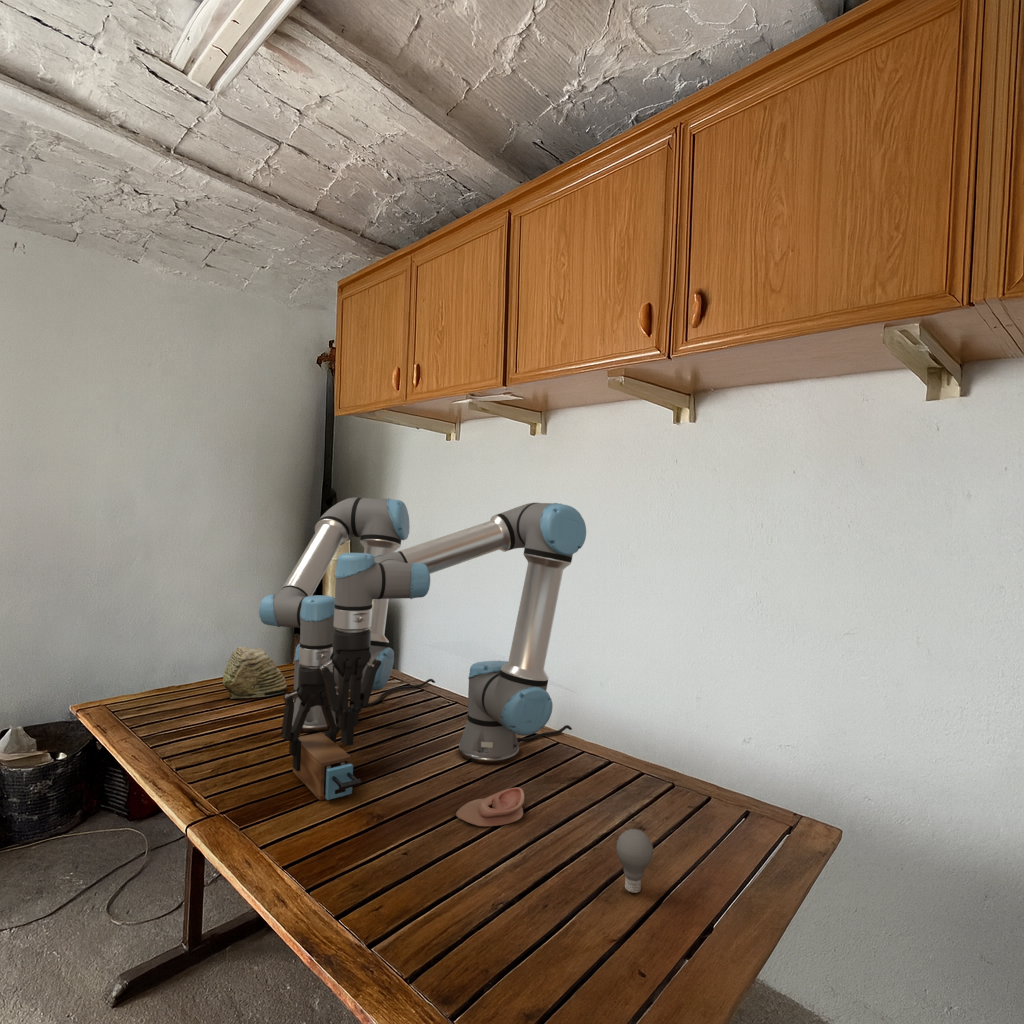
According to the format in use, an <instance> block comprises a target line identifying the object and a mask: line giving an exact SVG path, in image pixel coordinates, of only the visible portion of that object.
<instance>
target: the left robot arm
mask: <svg viewBox="0 0 1024 1024" xmlns="http://www.w3.org/2000/svg"><path fill="white" fill-rule="evenodd" d="M409 534H410V515H409V511H408V507H407V505H406V504H405V502H404V501H402V500H401V499H392V498H372V497H356V496H355V497H348V498H346V499H342V500H341V501H339V502H337V503H335V504H333V505H332V506H331V507H330V508H328V509H327V510H326V511H325V512H324V513H323V514H322V515H321V516H320V518H319V519H318V521H317V522H316V524H315V526H314V534H313V535H312V537H311V539H310V541H309V542H308V544H307V545H306V548H304V551H303V552H302V554H301V556H300V558H299V559H298V561H297V563H296V564H295V565H294V567H293V569H292V571H291V572H290V574H289V576H288V577H287V579H286V580H285V582H284V584H283V585H282V587H281V589H280V590H279V592H278V593H277V594H276V593H273V594H267V595H265V596H263V598H262V599H261V601H260V603H259V608H258V615H259V618H260V621H261V623H262V624H264V625H266V626H271V627H277V628H280V627H281V628H282V627H283V628H299V630H300V631H299V632H300V633H299V643H298V644H297V645H296V647H295V652H294V653H295V654H294V659H293V661H294V672H293V692H291V693H287V692H286V693H284V694H283V701H284V710H283V716H282V717H283V719H282V726H281V731H280V732H281V733H280V737H281V738H282V739H283V740H284V741H285V742H289V744H288V745H289V749H288V753H289V755H290V756H292V769H293V768H294V769H295V770H296V771H300V763H301V741H300V740H299V739H298V738H299V737H300V736H301V733H319V732H324V734H325V735H326V736H327V737H328V738H329V739H331V740H332V741H333V742H334V743H335V744H337V735H339V734H340V731H342V730H341V729H340V728H339V727H338V712H337V713H336V712H334V711H333V710H331V709H330V708H329V703H328V698H327V693H326V688H325V683H324V678H323V675H322V673H321V672H320V670H319V666H320V665H324V664H326V663H327V662H328V661H329V660H330V656H331V654H332V652H333V631H334V630H335V629H336V628H335V627H334V626H333V622H334V607H335V597H333V596H331V595H323V594H322V595H321V594H320V595H318V594H317V595H315V594H314V593H315V592H316V590H317V588H318V587H319V584H320V583H321V580H322V579H323V577H324V575H325V573H326V571H327V570H328V568H329V566H330V565H331V562H332V561H333V559H334V557H335V555H336V553H337V551H338V549H339V548H340V546H342V545H344V544H345V543H346V542H347V541H348V539H350V538H360V539H359V543H360V544H361V546H362V547H363V548H364V550H363V553H368V554H372V555H373V556H376V555H384V556H385V555H388V554H391V553H394V552H397V550H398V549H400V548H401V547H402V541H405V540H408V538H409ZM389 601H390V599H373V601H372V617H371V627H370V628H368V629H369V630H370V631H371V641H370V652H371V656H372V657H373V658H376V659H378V660H380V661H381V665H380V667H379V669H378V670H377V672H376V676H375V680H374V683H373V687H372V691H375V692H377V691H380V690H382V689H383V688H384V687H385V686H386V685H387V684H388V682H389V680H390V677H391V675H392V672H393V668H394V663H395V652H394V649H392V648H391V647H389V646H390V645H389V644H390V641H389V639H388V638H387V637H386V636H385V633H386V632H385V631H386V624H387V615H388V609H389V608H388V607H389ZM366 668H367V665H366V666H365V668H364V669H363V672H362V679H361V687H362V683H363V679H364V676H365V672H366ZM332 675H333V677H334V682H335V687H336V692H337V698H338V687H339V677H338V671H337V670H336V668H335V667H334V666H333V673H332ZM350 682H351V678H350V681H349V690H350ZM430 682H432V683H433V684H435V683H436V681H435V680H434V679H433V678H428V679H427V680H425V681H424V682H422V683H419V684H413V685H405V686H404V685H403V686H398V687H394V688H391V689H388V690H386V691H385V692H383V693H381V694H380V695H379V696H378V698H377V699H376V700H374V701H371V702H369V703H368V706H367V707H370V706H374V705H376V704H378V703H380V702H381V700H382V699H383V697H385V696H386V695H388V694H390V693H392V692H397V691H400V690H408V689H417V688H422V687H424V686H425V685H428V683H430ZM348 709H349V710H350V707H349V706H348Z"/></svg>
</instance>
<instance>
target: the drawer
mask: <svg viewBox="0 0 1024 1024" xmlns="http://www.w3.org/2000/svg"><path fill="white" fill-rule="evenodd" d="M361 785H362V780H361V778H357V777H356V776H354V765H353V764H352V763H351V764H346V765H345V762H340V763H335V764H331V765H327V766H325V775H324V791H325V792H326V799H325V800H327V801H330V800H333V799H337V798H342V797H345V796H348V795H352V794H353V788H354V787H357V786H361Z"/></svg>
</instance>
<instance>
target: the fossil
mask: <svg viewBox="0 0 1024 1024" xmlns="http://www.w3.org/2000/svg"><path fill="white" fill-rule="evenodd" d="M222 676H223V677H222V685H223V687H224V688H225V690H226V691H228V693H229V698H230V699H250V698H264V697H271V696H275V695H281V694H284V693H285V691H286V689H287V687H288V686H287V680H286V678H285V676H284V674H283V673H282V672H281V669H279V668H278V667H277V665H276V663H275V662H274V660H273V659H272V658H271V657H270V656H269V655H268V654H267V653H266V652H265V650H264V649H263V648H260V647H258V648H251V647H247V646H246V647H245V646H238V647H237V648H236V649H235V650H233V651H232V653H231V656H230V657H229V659H228V660H227V663H226V666H225V668H224V671H223V675H222Z"/></svg>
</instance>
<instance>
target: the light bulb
mask: <svg viewBox="0 0 1024 1024" xmlns="http://www.w3.org/2000/svg"><path fill="white" fill-rule="evenodd" d="M615 849H616V854H617V857H618V859H619V861H620V863H621V865H622V867H623V873H624V874H623V875H624V876H625V878H624V888H625V890H627V891H628V892H630V893H634V894H635V893H639V892H640V891H641V889H642V887H641V886H642V879H643V877H644V875H645V871H646V868H647V867H648V866H649V864H650V863H651V861H652V859H653V855H654V847H653V843H652V841H651V838H649V836H648V835H647V834H646V833H645V832H643V831H642V830H641V829H636V828H629V829H627V830H625V831H623V832H622V833H621V834H620V835H619V837H618V839H617V841H616V847H615Z"/></svg>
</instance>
